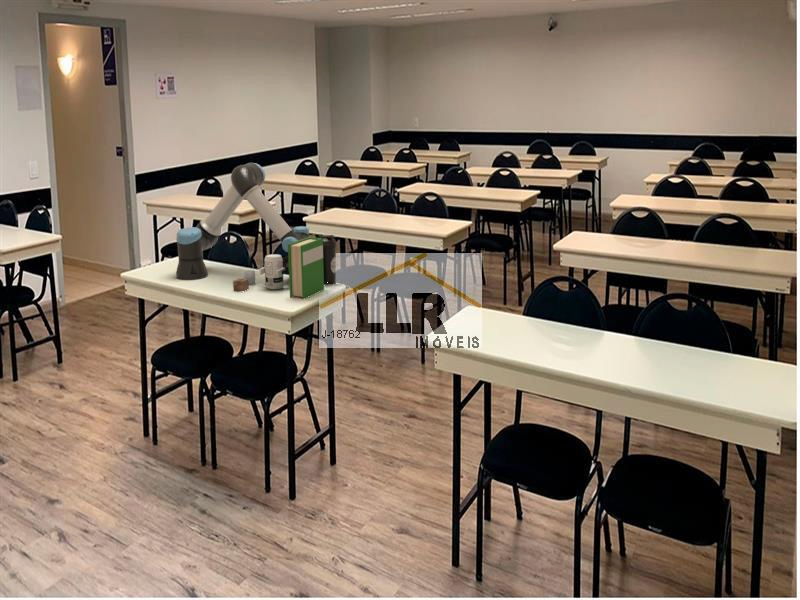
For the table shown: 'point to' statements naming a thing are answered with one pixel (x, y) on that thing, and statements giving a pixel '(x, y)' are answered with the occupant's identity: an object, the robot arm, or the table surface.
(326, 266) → the water bottle
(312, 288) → the hardback book
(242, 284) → the walnut block
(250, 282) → the grey plastic tub
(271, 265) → the supplement can
